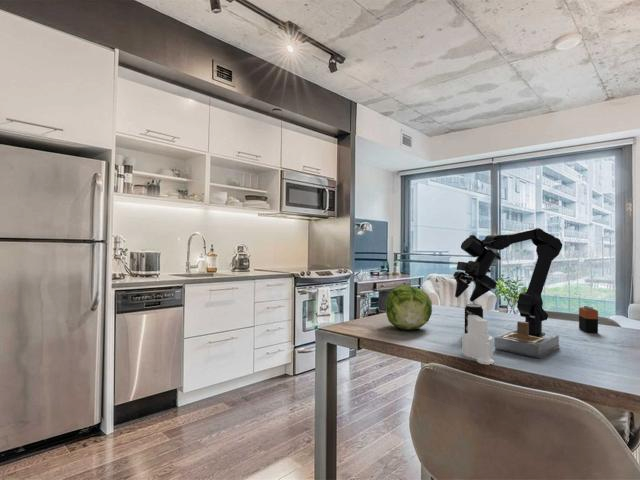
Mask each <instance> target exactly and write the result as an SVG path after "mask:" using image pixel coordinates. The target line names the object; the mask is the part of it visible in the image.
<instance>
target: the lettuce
mask: <svg viewBox="0 0 640 480" xmlns="http://www.w3.org/2000/svg"><path fill="white" fill-rule="evenodd" d="M432 305H433V304H432V301H431V299H430V297H429V295H428V294H427V293H426V292H424V291H423V290H422V289H420V288H418V287H415V286H411V285H406V284H404V285H401V284H399V285H397V286H395V287H392V289H391V290H390V291H389V293H388V294H387V297H386V300H385V310H384V311H385V314H386V317H387V319H388V322H389V323H390V324H391V325H392V326H394V327H395V328H397V329H402V330H405V331H406V330H409V331H411V330H416V329H419V328H422V327H423V326H425V325H426V324H427V323H428V322H429V320H430V318H431V317H432V314H433V306H432Z"/></svg>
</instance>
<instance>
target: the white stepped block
mask: <svg viewBox="0 0 640 480" xmlns="http://www.w3.org/2000/svg"><path fill="white" fill-rule="evenodd" d="M485 329H487V330H488V320H487V319H485V318H484V317H483V318H481V317H479V316H477V315H468V333H466V334H465V333H463V334H462V338H461V339H462V346H461V347H462V351H461V352H462V353H463V354H464V355H465V356H464V355H463V354H462V355H463V356H464V357H466V356H468V357H467V358H469V357H473V358H479V357H482V355H483V349H484V345H483V344H482V342H484V341H483V338H482V335H484V334H485V333H483V331H485ZM487 342H488V343H489V345H487V348H488V355H489V357H490V358H491V357H492V358H493V336H491V335H489V339H488V341H487ZM473 358H472V359H473ZM492 358H491V359H492Z"/></svg>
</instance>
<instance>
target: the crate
mask: <svg viewBox="0 0 640 480" xmlns="http://www.w3.org/2000/svg"><path fill="white" fill-rule="evenodd" d="M516 326H517V327H516V328H517V333H510V334H508V335H505V336H503V338H508V339H513V340H518V341H524V342H529V343H534V344H536V343H538V342H540V341H542V340H544V339H545V338H544V337H541V336H534V335H529V322H525V321H521V320H518V321H517V325H516Z"/></svg>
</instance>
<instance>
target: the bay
mask: <svg viewBox="0 0 640 480" xmlns="http://www.w3.org/2000/svg"><path fill="white" fill-rule="evenodd" d="M510 333H517V327H516V328H513V329H511V330H509V331H506V332H503V333H501V334H499V335H496V336H494V343H493V344H494V345H493V346H494V349H495V350H498V349H499V351H502V350H504V351H503V352H507V351H509V352H508V353H511V352H514V353H513V354H516V353H518V354H517V355H521V354H523V355H522V356H525V355H527V356H526V357H530V356H532V357H531V358H535V357H536V358H535V359H539V358H541V359H543V358H544V357H546V356H548V355H549V354H551V353H554V352H555V351H557V350H558V349H560V344H559V343H560V335H559V334H555V333H554V334H553V335H550V336H549V337H547V338H544V340H542V341H540V342H538V343H536V344H534V343H529V342H524V341H518V340H513V339H508V338H503V336H505V335H508V334H510ZM542 357H543V358H542Z"/></svg>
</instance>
